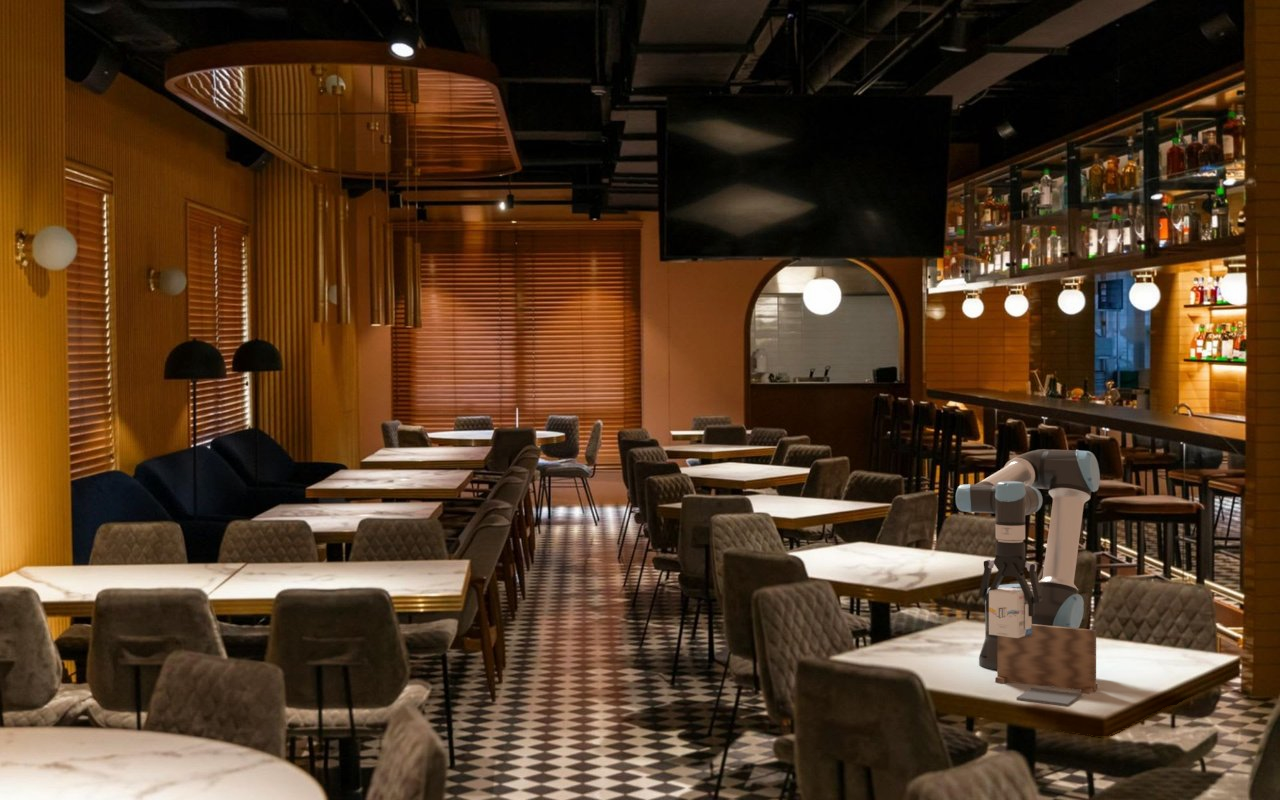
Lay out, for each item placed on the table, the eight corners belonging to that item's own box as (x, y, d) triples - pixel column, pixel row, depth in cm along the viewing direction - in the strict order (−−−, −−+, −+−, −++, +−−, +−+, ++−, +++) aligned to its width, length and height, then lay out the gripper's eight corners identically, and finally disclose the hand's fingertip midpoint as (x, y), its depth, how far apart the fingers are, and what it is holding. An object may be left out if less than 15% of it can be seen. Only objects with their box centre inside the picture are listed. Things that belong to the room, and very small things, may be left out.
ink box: (1002, 630, 367) (1002, 586, 367) (1032, 633, 361) (1032, 589, 361) (987, 634, 360) (987, 590, 360) (1017, 638, 355) (1017, 593, 355)
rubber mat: (1016, 699, 354) (1016, 697, 354) (1031, 689, 365) (1031, 687, 365) (1067, 706, 347) (1067, 703, 347) (1081, 695, 358) (1081, 693, 358)
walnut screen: (994, 682, 374) (994, 623, 374) (1002, 677, 380) (1002, 619, 380) (1091, 693, 360) (1091, 632, 360) (1098, 688, 366) (1098, 628, 366)
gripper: (965, 539, 363) (965, 624, 364) (1046, 544, 351) (1046, 633, 352) (975, 536, 370) (975, 620, 370) (1055, 541, 358) (1055, 628, 358)
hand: (1010, 626), depth 361 cm, fingers closed on ink box, 9 cm apart
